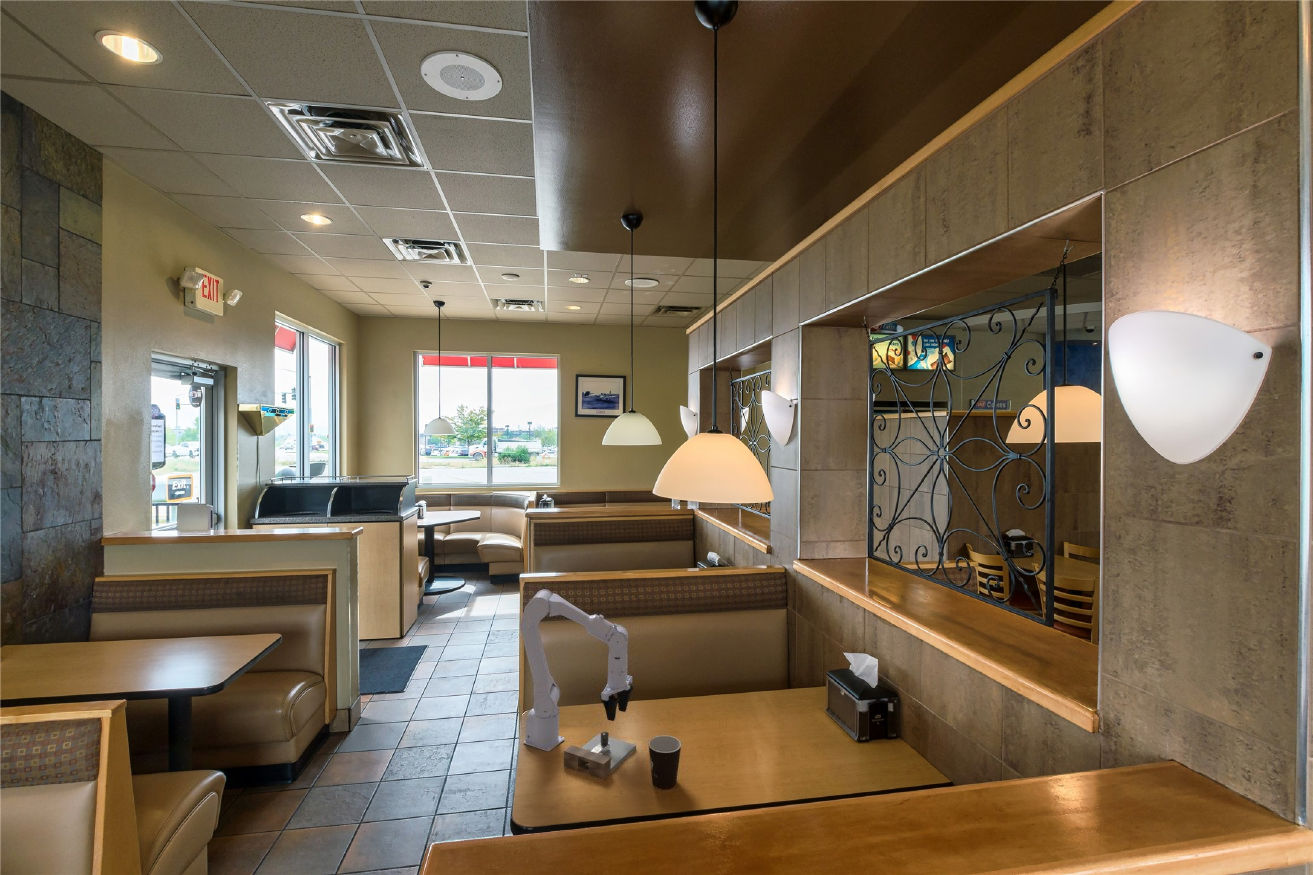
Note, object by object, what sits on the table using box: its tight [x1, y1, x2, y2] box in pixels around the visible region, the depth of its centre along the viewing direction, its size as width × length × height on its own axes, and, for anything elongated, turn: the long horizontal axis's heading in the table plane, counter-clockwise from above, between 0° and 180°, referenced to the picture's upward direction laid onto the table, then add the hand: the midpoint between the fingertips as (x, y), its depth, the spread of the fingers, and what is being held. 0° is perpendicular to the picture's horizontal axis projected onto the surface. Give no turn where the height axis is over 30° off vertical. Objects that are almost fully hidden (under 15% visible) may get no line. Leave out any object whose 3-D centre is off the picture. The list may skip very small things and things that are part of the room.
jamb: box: [563, 744, 612, 781], centre depth 152 cm, size 13×4×4 cm, turn 63°
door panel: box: [581, 733, 637, 773], centre depth 159 cm, size 13×14×3 cm
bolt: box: [591, 731, 610, 754], centre depth 157 cm, size 2×7×4 cm, turn 152°
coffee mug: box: [648, 734, 682, 790], centre depth 148 cm, size 12×9×10 cm
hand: (616, 715), depth 165 cm, fingers open, 6 cm apart
